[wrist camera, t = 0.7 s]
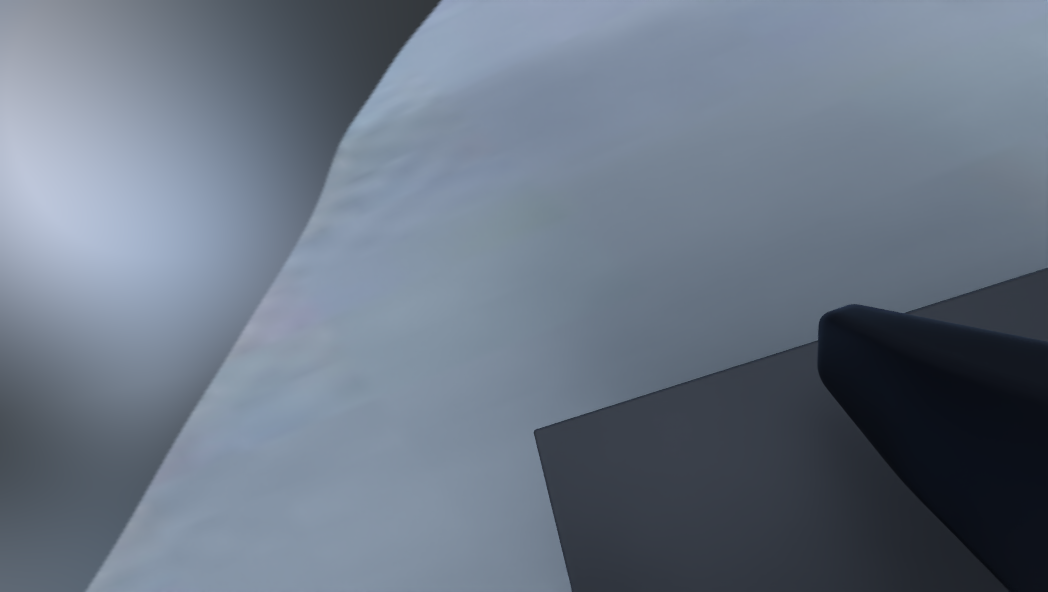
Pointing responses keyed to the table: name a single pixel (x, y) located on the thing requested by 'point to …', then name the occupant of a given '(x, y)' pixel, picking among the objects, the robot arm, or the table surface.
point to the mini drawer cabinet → (759, 481)
